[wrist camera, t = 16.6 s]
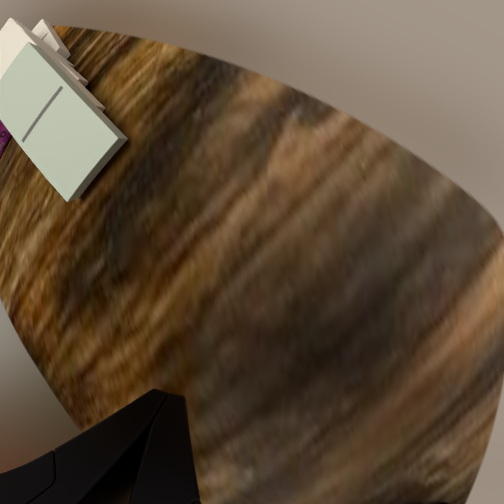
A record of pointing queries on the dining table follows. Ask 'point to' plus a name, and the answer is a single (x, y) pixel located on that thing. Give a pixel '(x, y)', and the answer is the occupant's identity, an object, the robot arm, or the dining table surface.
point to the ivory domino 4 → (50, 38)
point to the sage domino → (56, 122)
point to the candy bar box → (3, 137)
